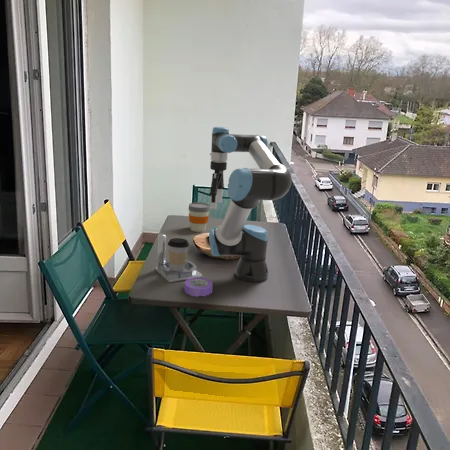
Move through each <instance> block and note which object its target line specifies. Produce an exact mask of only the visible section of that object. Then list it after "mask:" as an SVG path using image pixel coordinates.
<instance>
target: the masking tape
mask: <svg viewBox="0 0 450 450" xmlns="http://www.w3.org/2000/svg"><path fill="white" fill-rule="evenodd" d="M213 284H214V283H213V281H212V280H211V279H209V278H206V277H203V276H202V277H195V278H190V279H187V280H184V292H185V294H187V295H188V294H189V296H192V297H195V296H196V298H199V297H198V296H204V297H207V296H206V295H208V296H210V295H211V294H212V293H213V288H214V287H213V286H214V285H213ZM210 293H211V294H210ZM209 294H210V295H209Z"/></svg>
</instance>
